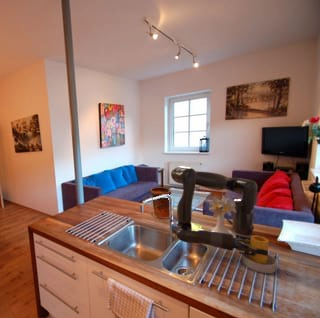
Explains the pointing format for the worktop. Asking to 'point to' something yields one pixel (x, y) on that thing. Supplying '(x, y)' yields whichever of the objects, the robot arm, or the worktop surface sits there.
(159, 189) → the vessel
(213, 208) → the flower vase
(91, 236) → the worktop surface
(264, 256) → the yellow hollow cylinder
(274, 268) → the bowl
